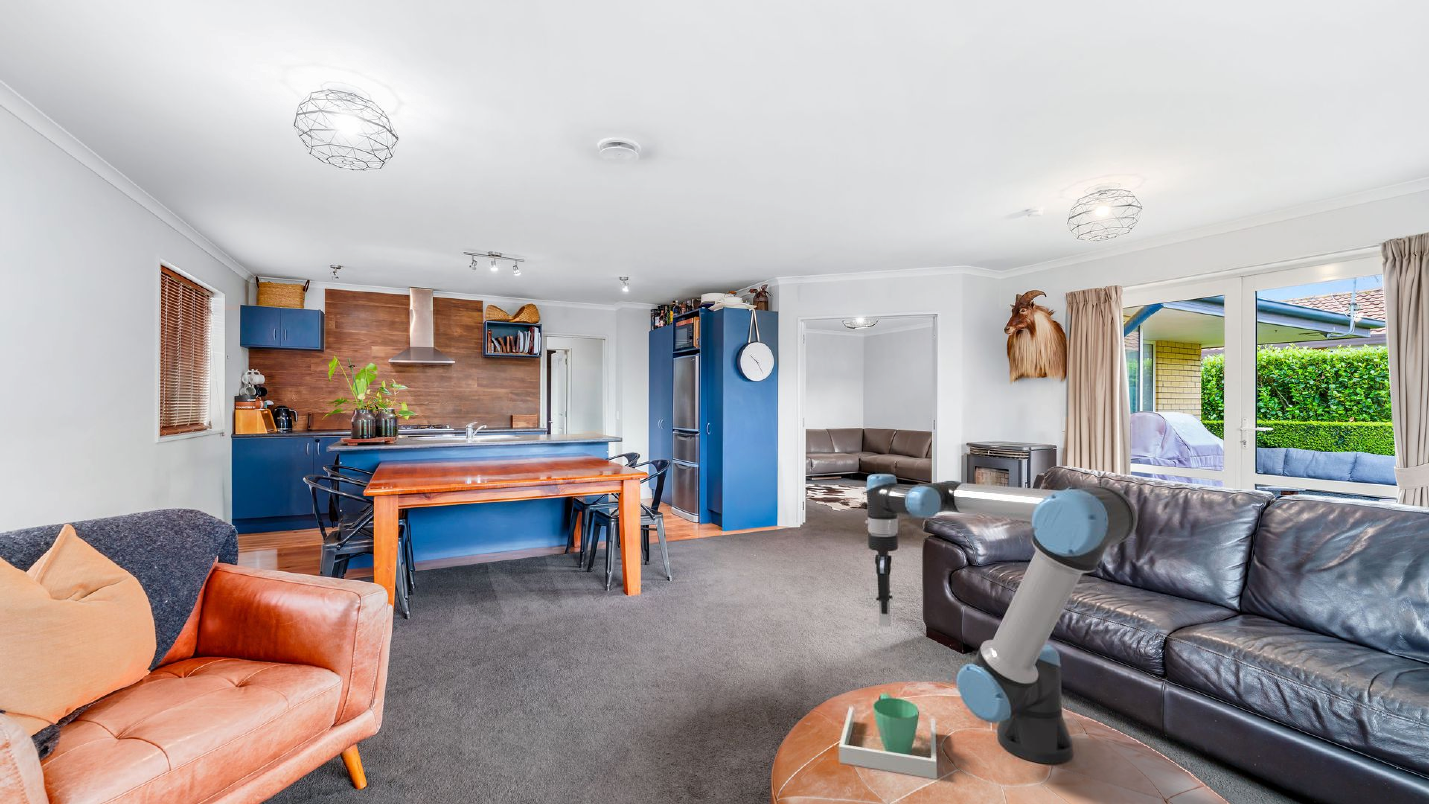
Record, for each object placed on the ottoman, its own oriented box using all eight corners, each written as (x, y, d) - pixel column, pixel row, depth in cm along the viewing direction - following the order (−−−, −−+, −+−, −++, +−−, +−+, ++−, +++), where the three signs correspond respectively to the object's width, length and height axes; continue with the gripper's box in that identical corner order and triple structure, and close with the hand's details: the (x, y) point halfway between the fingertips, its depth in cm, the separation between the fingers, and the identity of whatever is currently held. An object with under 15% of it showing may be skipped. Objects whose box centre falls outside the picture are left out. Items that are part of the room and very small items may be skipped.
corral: (935, 733, 140) (935, 718, 140) (936, 779, 122) (936, 761, 122) (849, 721, 147) (849, 706, 147) (839, 762, 129) (838, 746, 129)
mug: (927, 764, 127) (925, 717, 128) (882, 766, 127) (881, 719, 128) (903, 730, 142) (902, 687, 142) (863, 731, 142) (861, 689, 142)
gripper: (870, 528, 162) (872, 615, 161) (865, 537, 149) (867, 632, 149) (898, 530, 159) (901, 618, 158) (896, 539, 147) (899, 635, 146)
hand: (885, 625), depth 154 cm, fingers closed
